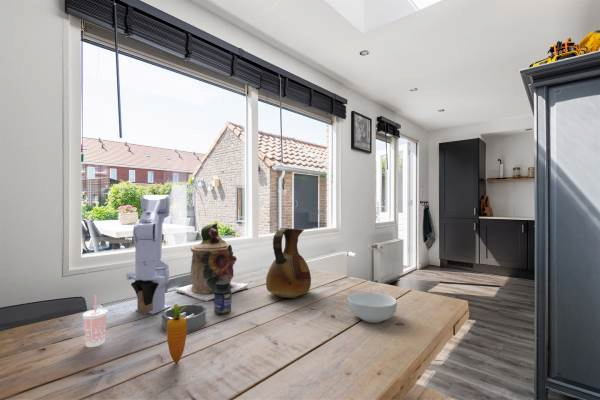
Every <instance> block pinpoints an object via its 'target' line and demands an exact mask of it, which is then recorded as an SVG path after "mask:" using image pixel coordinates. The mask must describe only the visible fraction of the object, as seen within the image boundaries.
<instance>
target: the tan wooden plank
mask: <svg viewBox="0 0 600 400" xmlns="http://www.w3.org/2000/svg"><path fill="white" fill-rule="evenodd" d="M152 310H153V300H152V303H151V304H149V305H145V304H144V294H143V290H141V291H138V311H137V315H145V314H148V313H147V312H150V311H152Z"/></svg>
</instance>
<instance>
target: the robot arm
mask: <svg viewBox="0 0 600 400" xmlns="http://www.w3.org/2000/svg"><path fill="white" fill-rule="evenodd" d="M170 197H171V196H170V195H169V194H142V195H141V198H140V209H141V212H142V213H141V215H140V217H139V219H138V223H137V224H134V226H133V230H132V237H133V243H134V244H133V247H134V248H135V254H134V255H135V260H134V261H135V268H134V269H135V272H133V271H131V272H126V276H125V277H126V280H128V281H129V280H133V282H131V284H130V285H131V287H132V289H133V290H134V292H135V294H136V297H137V298H136V301H137V306H136V307H137V308H136V309H135V311H136V312H138V291H141V290H143V294H144V304H145V305H149V304H151V303H152V300H153V310H152V311H150V312H147V313H146V314H152V315H155V314H157V313H159V312H161V311H165V310H167V309H170V308H171V306H170V304H169V305H167V304H166V298H165V297H166V285H167V284H168V283H169V281H170V280H169V279H170V271H169V270H170V269H169V267H170V266H169V264H168V263H167V262H166V261H164V260H163V259H162V252H163V251H162V250H163V249H162V247H163V224H164V222H165V219H166V218H168V217H169V216H170V215H169V214H170V209H171V208H170V207H171V201H170V200H171V198H170Z"/></svg>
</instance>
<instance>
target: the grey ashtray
mask: <svg viewBox="0 0 600 400" xmlns="http://www.w3.org/2000/svg"><path fill="white" fill-rule="evenodd" d="M179 306H180V308H179V311H180V310H181V308H183V307H184V306H185V307H186V308H185V309H184V310H183V311H182V312H181V315H180V317H183V318H185V319H186V322H187V330H186V332H187V331H192V330H195V329H199V328H200V327H202V326H204V325H205V324H206V322H207V313H208V312H207V311H208V309H207V307H206V306H204V305H202V304H197V303H196V304H195V303H191V304H189V303H188V304H181V305H179ZM173 307H174V306H172V307H169V308H167V309H164V312H162V317H161V318H162V319H161V322H162V328H163V329H164V330H165V331H167V321H168V320H170V319H172V318H174V316H173V314H172V310H171V308H173ZM177 315H178V314H177Z"/></svg>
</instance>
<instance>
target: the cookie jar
mask: <svg viewBox="0 0 600 400" xmlns="http://www.w3.org/2000/svg"><path fill="white" fill-rule="evenodd" d="M218 223H219V222H218V221H214V223H211V224H207V225H204V226H203V227H202V228H201V230H200V231H201V232H200V236H201V239H202V241H201V242H200V243H198V244H195V245H193V246H190V252H192V256H191V263H190V281H191V283H192V284H188V285H185V286H181V287H175V290H176V292H178V293H180V294H184V295H186V296H189V297H192V298H195V299H198V300H201V301H205V302H208V301H210V300H214V291H215V290H216V289H217V287H216V283H217V282H220V281H228V282H229V288H230V289H231V294H232V293H235V292H238V291H242V290H246V289H247V288H248V286H249V283H242V282H240V283H239V282H235V281H232V280H233V277H234V265H235V263H236V262H237V257H236V256H234V251H233V247H232V245H231V244H229V243H227V241H226V240H224V239H222V237H221V236H220V234H219V228H218Z"/></svg>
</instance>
